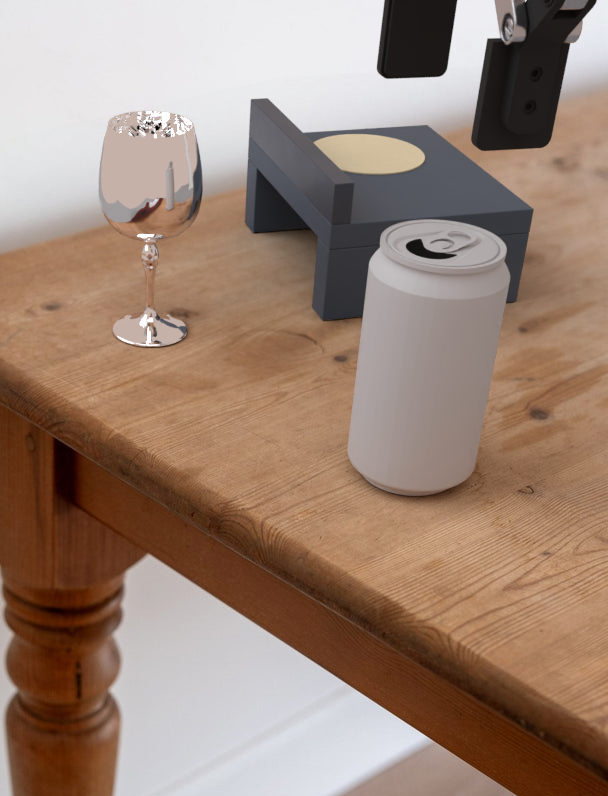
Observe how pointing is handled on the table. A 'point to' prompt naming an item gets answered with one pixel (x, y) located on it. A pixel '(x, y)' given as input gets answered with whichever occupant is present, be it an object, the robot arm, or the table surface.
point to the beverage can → (426, 354)
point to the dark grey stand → (368, 196)
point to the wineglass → (150, 202)
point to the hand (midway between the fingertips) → (456, 109)
